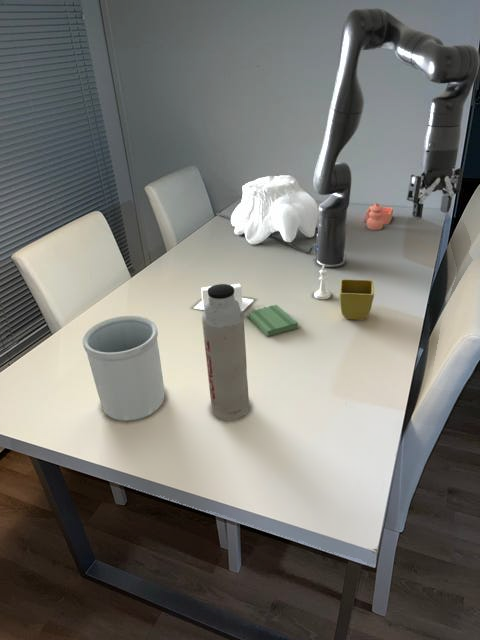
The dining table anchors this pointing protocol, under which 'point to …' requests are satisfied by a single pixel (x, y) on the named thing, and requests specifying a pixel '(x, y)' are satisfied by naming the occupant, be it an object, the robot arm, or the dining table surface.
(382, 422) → the dining table surface
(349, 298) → the flower pot
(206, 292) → the napkin holder
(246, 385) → the thermos bottle
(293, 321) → the green flat rectangular block
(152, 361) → the utensil holder
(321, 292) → the chess piece
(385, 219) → the pottery
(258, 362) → the dining table surface
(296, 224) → the tree stump
